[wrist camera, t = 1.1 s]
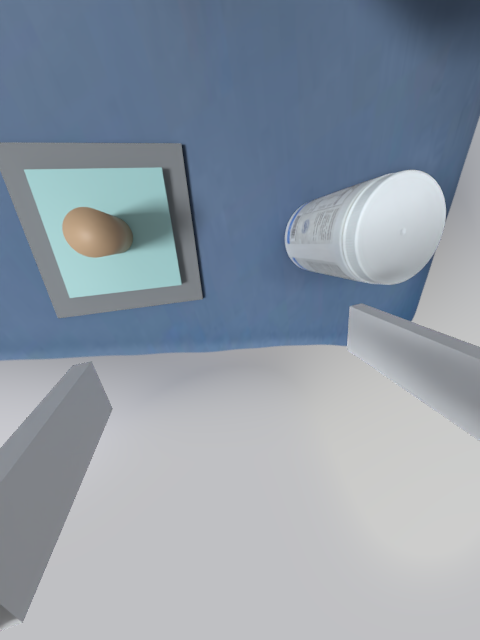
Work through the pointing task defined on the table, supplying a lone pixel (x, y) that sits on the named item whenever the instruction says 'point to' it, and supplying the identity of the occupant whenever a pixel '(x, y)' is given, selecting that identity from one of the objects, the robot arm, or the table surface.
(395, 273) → the supplement tub
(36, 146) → the mat
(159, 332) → the table surface
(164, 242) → the lid
